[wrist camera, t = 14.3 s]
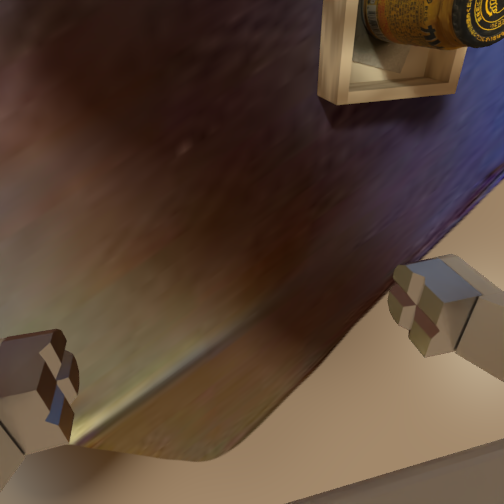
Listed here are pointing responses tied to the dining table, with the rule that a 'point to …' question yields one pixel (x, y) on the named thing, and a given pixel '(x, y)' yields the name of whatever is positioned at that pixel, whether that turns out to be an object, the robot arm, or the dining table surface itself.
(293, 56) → the dining table surface
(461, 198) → the dining table surface
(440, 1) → the condiment
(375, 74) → the caddy
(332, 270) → the dining table surface
